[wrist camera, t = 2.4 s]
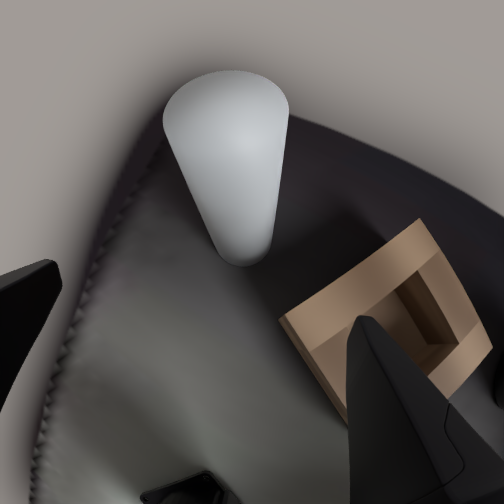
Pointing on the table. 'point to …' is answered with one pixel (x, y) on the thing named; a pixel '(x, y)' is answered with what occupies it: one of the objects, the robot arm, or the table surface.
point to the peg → (231, 157)
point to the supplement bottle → (500, 384)
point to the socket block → (393, 315)
